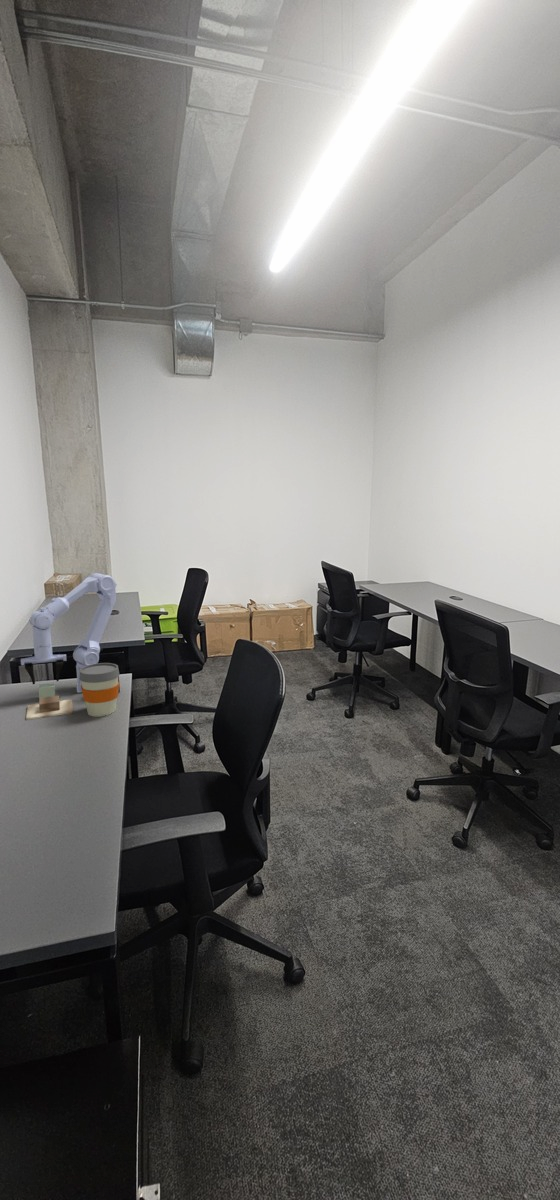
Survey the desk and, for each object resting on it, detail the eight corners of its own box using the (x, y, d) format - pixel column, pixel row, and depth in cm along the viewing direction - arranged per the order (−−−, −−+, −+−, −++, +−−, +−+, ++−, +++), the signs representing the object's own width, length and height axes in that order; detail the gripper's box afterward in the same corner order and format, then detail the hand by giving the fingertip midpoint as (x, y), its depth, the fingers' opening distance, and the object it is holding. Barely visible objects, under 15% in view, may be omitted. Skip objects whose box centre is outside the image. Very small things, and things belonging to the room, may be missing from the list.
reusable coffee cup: (96, 722, 161) (93, 677, 158) (74, 712, 168) (71, 669, 166) (129, 709, 171) (126, 667, 168) (107, 701, 178) (104, 660, 176)
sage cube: (55, 695, 184) (54, 682, 183) (55, 700, 180) (53, 686, 179) (40, 697, 182) (38, 684, 181) (39, 702, 178) (38, 688, 177)
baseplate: (71, 700, 179) (71, 691, 178) (72, 713, 168) (72, 702, 167) (28, 706, 173) (27, 696, 172) (26, 720, 162) (25, 709, 162)
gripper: (65, 640, 184) (67, 676, 186) (20, 644, 178) (23, 681, 180) (65, 645, 177) (67, 681, 180) (19, 649, 172) (22, 687, 174)
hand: (45, 681), depth 180 cm, fingers open, 7 cm apart
